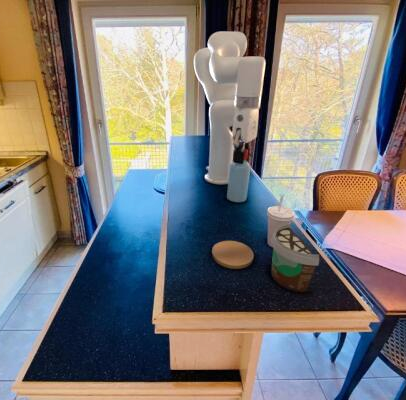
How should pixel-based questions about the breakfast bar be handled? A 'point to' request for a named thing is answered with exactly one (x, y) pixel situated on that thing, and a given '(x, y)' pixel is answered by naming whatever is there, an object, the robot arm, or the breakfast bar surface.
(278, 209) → the smoothie
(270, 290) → the breakfast bar surface
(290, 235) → the food container
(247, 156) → the cap
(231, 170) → the bottle
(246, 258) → the coaster
